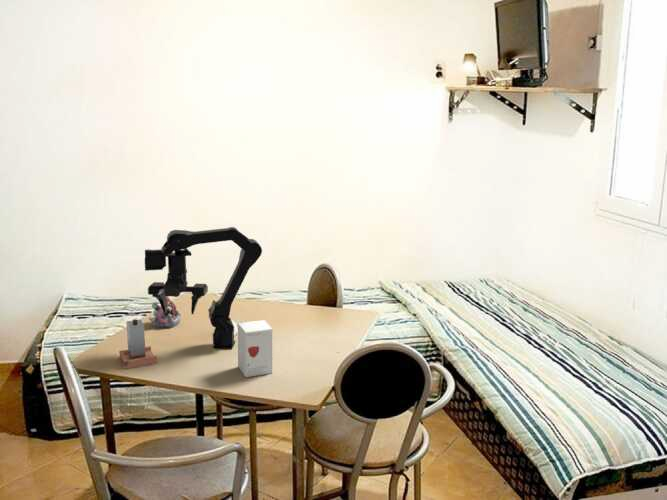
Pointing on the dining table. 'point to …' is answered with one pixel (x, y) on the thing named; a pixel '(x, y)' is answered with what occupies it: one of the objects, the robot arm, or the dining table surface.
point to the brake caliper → (165, 315)
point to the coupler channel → (140, 361)
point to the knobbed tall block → (136, 339)
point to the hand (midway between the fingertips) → (179, 313)
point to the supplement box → (255, 348)
